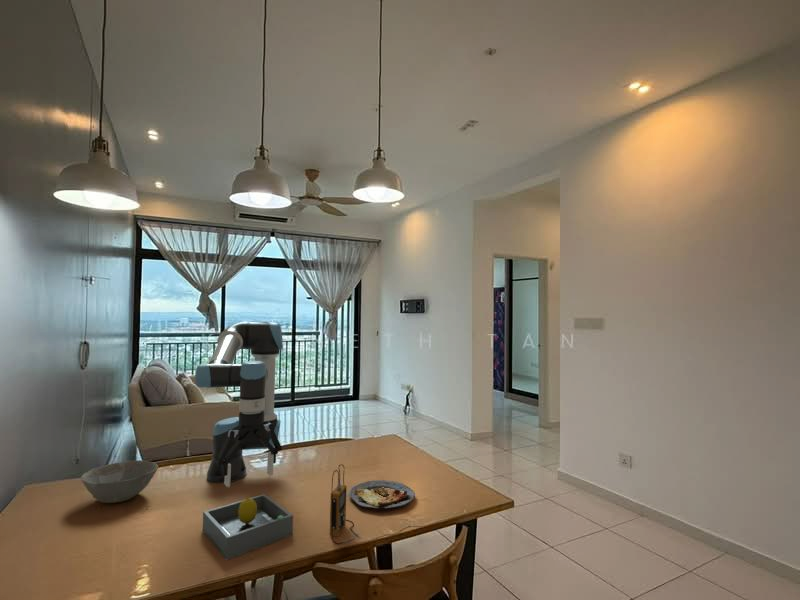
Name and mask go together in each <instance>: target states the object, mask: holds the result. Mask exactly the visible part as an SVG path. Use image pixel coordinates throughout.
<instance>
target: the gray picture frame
mask: <svg viewBox="0 0 800 600" xmlns="http://www.w3.org/2000/svg"><path fill="white" fill-rule="evenodd" d="M272 520H273V519H272V518H270V517H269V516H268V515H267V514H266V513H264V512H263V511H262V510H261V509H260V510H257V514H256V517H255V519H254V520H253V521H252V522H250V523H249V524H247V525H246V524H245V523H243V522H241V521H240V519H239V517H238V516H237V517H234V518H231V519H228V520H225V521H221V522H218V523H219V524H220V526H221V527H222V528H223V529H224V530H225V531H226V532H227V533H228V534H229V535H232V534H234V533H237V532H240V531H243V530H246V529H249V528H252V527H255V526H258V525H261V524H264V523H267V522H270V521H272Z"/></svg>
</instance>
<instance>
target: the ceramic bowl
mask: <svg viewBox="0 0 800 600" xmlns="http://www.w3.org/2000/svg"><path fill="white" fill-rule="evenodd" d="M158 469H159V465H158V463H156V462H153V461H149V460H137V459H136V460H135V459H134V460H126V461H120V462H114V463H109V464H105V465H102V466H98V467H94V468H93V469H90V470H89V471H86V472H84V473H83V474H82V475H81V477H80V480H81V483H83V485H84V487H85V488H86V490H87V491H88V492H89V494H91V495H92V498H93V499H96V500H97V501H99V502H100V503H105V504H113V503H114V504H115V503H121V502H125V501H128V500H130V499H132V498H135V496H137V495H138V494H139V493H141V492H142V491H143V490H144V489H146V488H147V486H149V484H150V483H151V481H152V479H153V478H154V475H155V474H156V472H157V470H158Z"/></svg>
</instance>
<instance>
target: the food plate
mask: <svg viewBox="0 0 800 600" xmlns="http://www.w3.org/2000/svg"><path fill="white" fill-rule="evenodd" d="M382 487H384V488H390V489H394V490H395V491H394V490H393V491H392V492H391V493H392V494H388V491H387V489H384V488H382ZM371 489H373V491H374V492H372V490H371ZM390 489H389V490H390ZM400 491H404V493H402V492H400ZM376 492H377V493H378V494H379V495H381V496H383V497H386V499H382V498H380V497H379V496H377V494H376ZM401 493H402V494H401ZM348 496H349V497H350V498H351V499H352V501H354V502H355V503H356V504H358V505H359V506H361V507H363V508H365V509H366V508H367V509H374V510H388V509H392V508H397V507H404V506H406V505H408V504H409V503H410V502H412V501H414V500H415V498H416V493H415V491H414V490H413V489H412V488H410V487H409V486H407V485H406V484H404V483H402V482H399V481H394V480H381V479H380V480H379V479H378V480H369V481H365V482H360V483H358V484H356V485H354V486H352V487H350V489H349V490H348ZM385 500H386V501H385Z"/></svg>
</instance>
